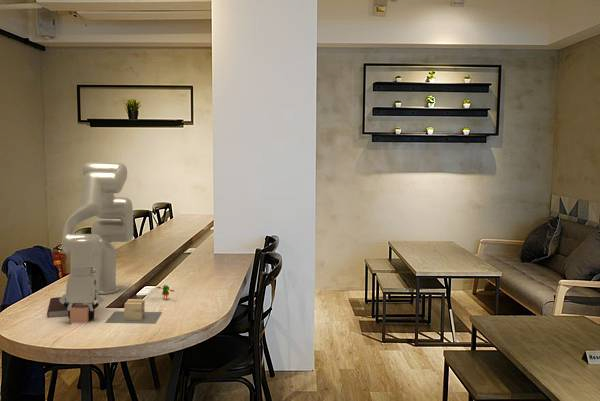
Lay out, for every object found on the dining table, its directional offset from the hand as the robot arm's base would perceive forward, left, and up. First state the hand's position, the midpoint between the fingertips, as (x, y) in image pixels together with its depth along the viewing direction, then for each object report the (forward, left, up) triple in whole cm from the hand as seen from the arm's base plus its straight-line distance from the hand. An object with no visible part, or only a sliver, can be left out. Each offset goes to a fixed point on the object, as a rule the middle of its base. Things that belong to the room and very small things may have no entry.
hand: (81, 320), depth 196 cm
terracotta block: (0, 0, -1) cm, 1 cm away
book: (-16, -11, -2) cm, 19 cm away
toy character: (-33, +25, -1) cm, 41 cm away
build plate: (-4, +18, -1) cm, 18 cm away
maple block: (-4, +18, 0) cm, 18 cm away
